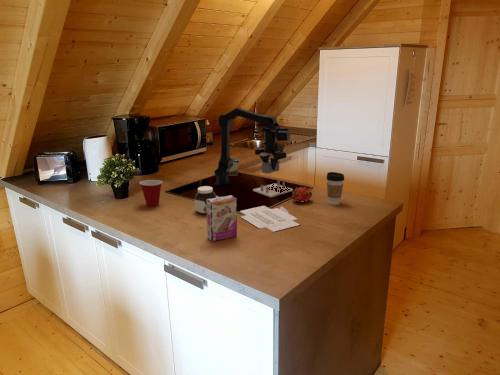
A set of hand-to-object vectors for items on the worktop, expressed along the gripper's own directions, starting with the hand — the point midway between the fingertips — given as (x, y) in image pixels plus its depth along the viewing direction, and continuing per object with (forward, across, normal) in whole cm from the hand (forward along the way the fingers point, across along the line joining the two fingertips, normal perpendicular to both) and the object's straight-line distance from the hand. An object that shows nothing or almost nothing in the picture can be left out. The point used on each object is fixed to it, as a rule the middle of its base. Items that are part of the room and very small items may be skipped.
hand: (270, 169), depth 213 cm
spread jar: (+12, -4, +44) cm, 45 cm away
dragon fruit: (+12, -24, +2) cm, 27 cm away
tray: (+12, -2, 0) cm, 12 cm away
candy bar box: (+12, -32, +57) cm, 66 cm away
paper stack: (+13, -29, +29) cm, 43 cm away
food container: (+11, +40, -4) cm, 41 cm away
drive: (+1, 0, 0) cm, 1 cm away
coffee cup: (+12, -36, -8) cm, 39 cm away
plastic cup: (+11, +22, +59) cm, 64 cm away
